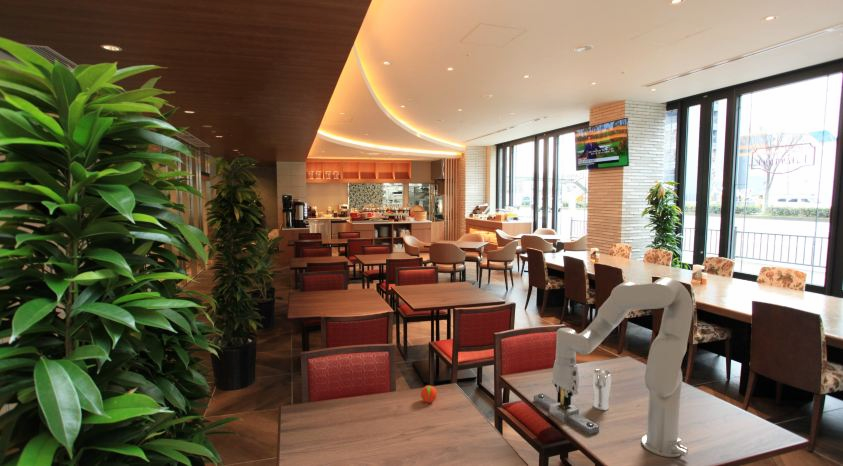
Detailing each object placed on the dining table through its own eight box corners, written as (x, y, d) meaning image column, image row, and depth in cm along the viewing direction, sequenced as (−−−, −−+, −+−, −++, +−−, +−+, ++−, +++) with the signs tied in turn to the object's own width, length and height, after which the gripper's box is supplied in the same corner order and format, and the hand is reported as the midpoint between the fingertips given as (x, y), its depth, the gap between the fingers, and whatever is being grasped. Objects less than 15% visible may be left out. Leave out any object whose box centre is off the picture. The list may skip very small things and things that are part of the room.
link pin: (569, 409, 174) (570, 387, 173) (563, 411, 172) (564, 389, 171) (563, 405, 177) (564, 384, 176) (557, 407, 175) (558, 386, 174)
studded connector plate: (601, 430, 163) (602, 421, 163) (586, 436, 159) (587, 427, 159) (545, 397, 190) (545, 389, 189) (530, 401, 186) (531, 393, 186)
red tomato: (437, 406, 182) (437, 390, 181) (420, 406, 182) (420, 390, 181) (436, 398, 190) (436, 382, 189) (421, 397, 190) (421, 382, 189)
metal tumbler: (606, 403, 185) (608, 369, 183) (612, 411, 178) (613, 376, 176) (590, 402, 185) (591, 368, 184) (594, 410, 178) (596, 375, 177)
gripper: (588, 365, 167) (586, 410, 169) (557, 351, 181) (556, 393, 183) (574, 368, 164) (572, 415, 165) (543, 354, 178) (542, 397, 180)
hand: (563, 403), depth 174 cm, fingers closed on link pin, 2 cm apart
